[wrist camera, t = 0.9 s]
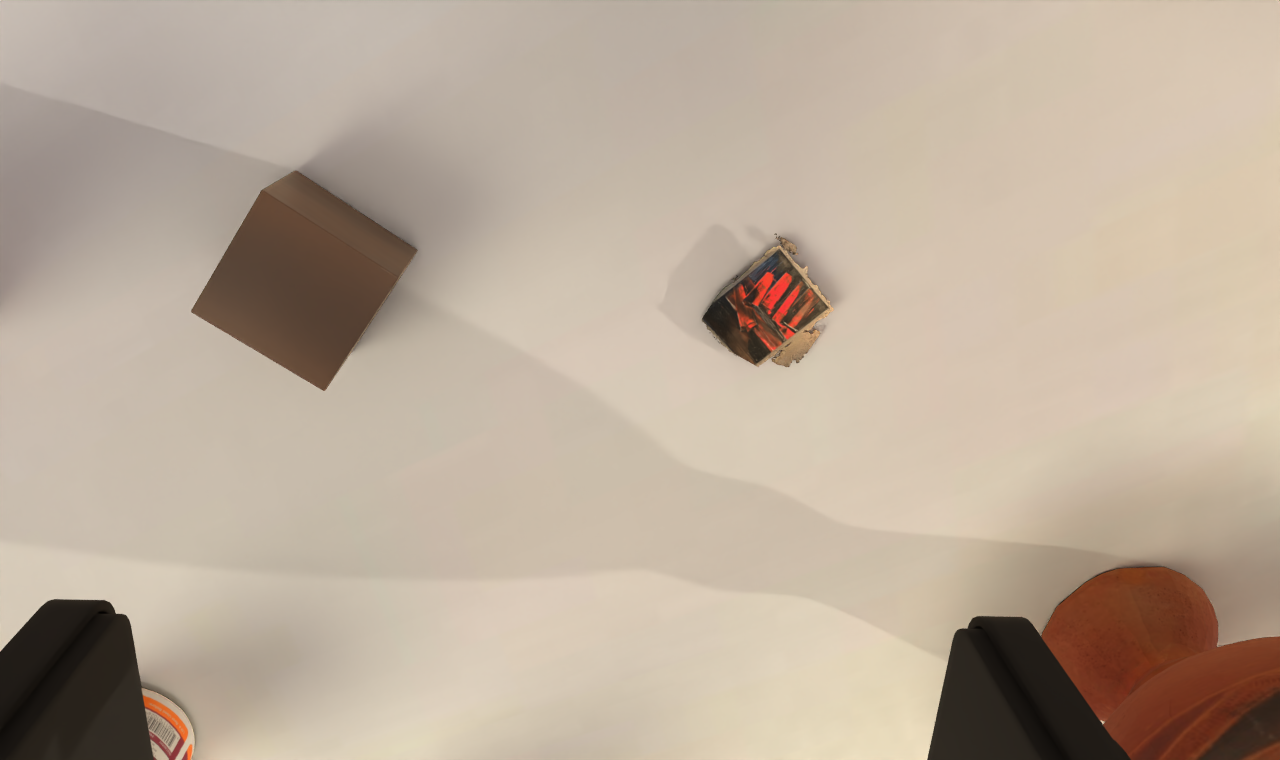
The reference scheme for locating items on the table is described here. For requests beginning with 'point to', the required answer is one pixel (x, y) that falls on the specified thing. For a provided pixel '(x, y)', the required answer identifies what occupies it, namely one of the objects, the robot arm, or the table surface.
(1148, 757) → the goblet
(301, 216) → the walnut block
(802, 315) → the painted wall fragment
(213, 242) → the table surface
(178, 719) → the pill bottle
